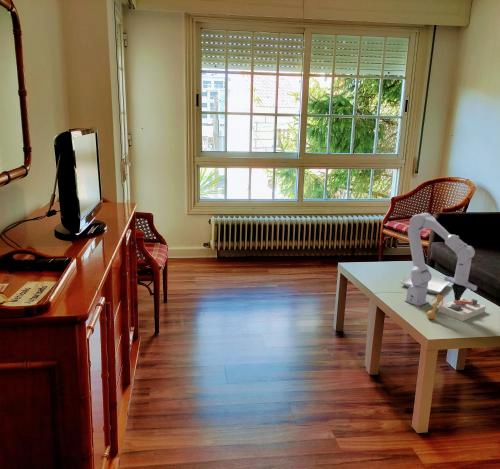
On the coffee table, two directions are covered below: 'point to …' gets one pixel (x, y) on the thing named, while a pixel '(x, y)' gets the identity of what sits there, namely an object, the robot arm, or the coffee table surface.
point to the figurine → (431, 313)
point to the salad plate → (433, 285)
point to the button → (456, 307)
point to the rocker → (463, 302)
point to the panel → (462, 310)
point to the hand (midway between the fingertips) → (457, 299)
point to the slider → (474, 302)
